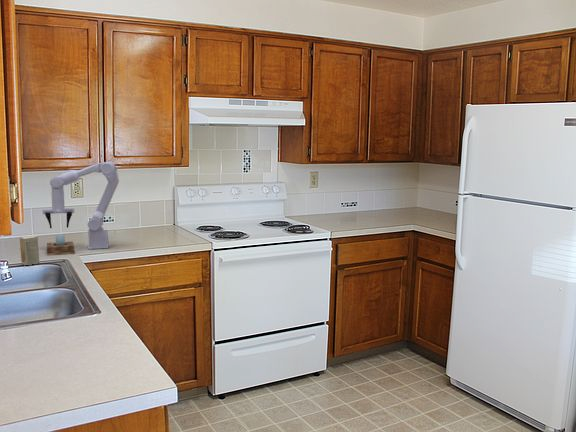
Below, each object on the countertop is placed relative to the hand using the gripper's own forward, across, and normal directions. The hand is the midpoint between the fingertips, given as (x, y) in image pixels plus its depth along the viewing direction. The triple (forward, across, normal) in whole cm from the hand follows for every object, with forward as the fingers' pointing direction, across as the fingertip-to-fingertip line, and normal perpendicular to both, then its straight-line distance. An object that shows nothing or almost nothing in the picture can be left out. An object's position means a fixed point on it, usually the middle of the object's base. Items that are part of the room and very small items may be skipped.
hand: (59, 227), depth 284 cm
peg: (+10, 0, -10) cm, 14 cm away
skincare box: (+11, -13, -33) cm, 37 cm away
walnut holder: (+10, 0, -10) cm, 14 cm away
